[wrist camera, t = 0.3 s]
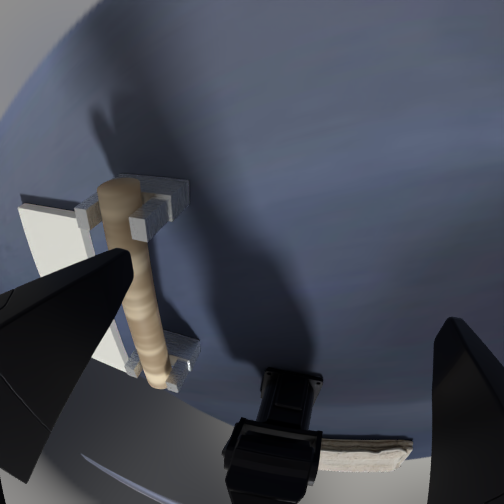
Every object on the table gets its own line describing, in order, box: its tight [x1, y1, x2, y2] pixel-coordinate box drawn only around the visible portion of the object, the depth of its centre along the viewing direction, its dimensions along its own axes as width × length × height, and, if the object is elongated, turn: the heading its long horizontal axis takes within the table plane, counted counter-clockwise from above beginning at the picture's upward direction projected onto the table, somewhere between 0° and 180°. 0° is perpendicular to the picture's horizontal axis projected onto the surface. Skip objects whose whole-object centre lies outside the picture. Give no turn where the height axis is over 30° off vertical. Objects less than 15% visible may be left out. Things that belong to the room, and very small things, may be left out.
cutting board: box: [18, 203, 128, 372], centre depth 35 cm, size 25×11×1 cm, turn 177°
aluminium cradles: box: [74, 173, 201, 393], centre depth 26 cm, size 20×6×6 cm, turn 177°
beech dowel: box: [97, 178, 172, 389], centre depth 25 cm, size 22×3×3 cm, turn 177°
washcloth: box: [318, 439, 413, 472], centre depth 40 cm, size 12×18×3 cm, turn 100°
